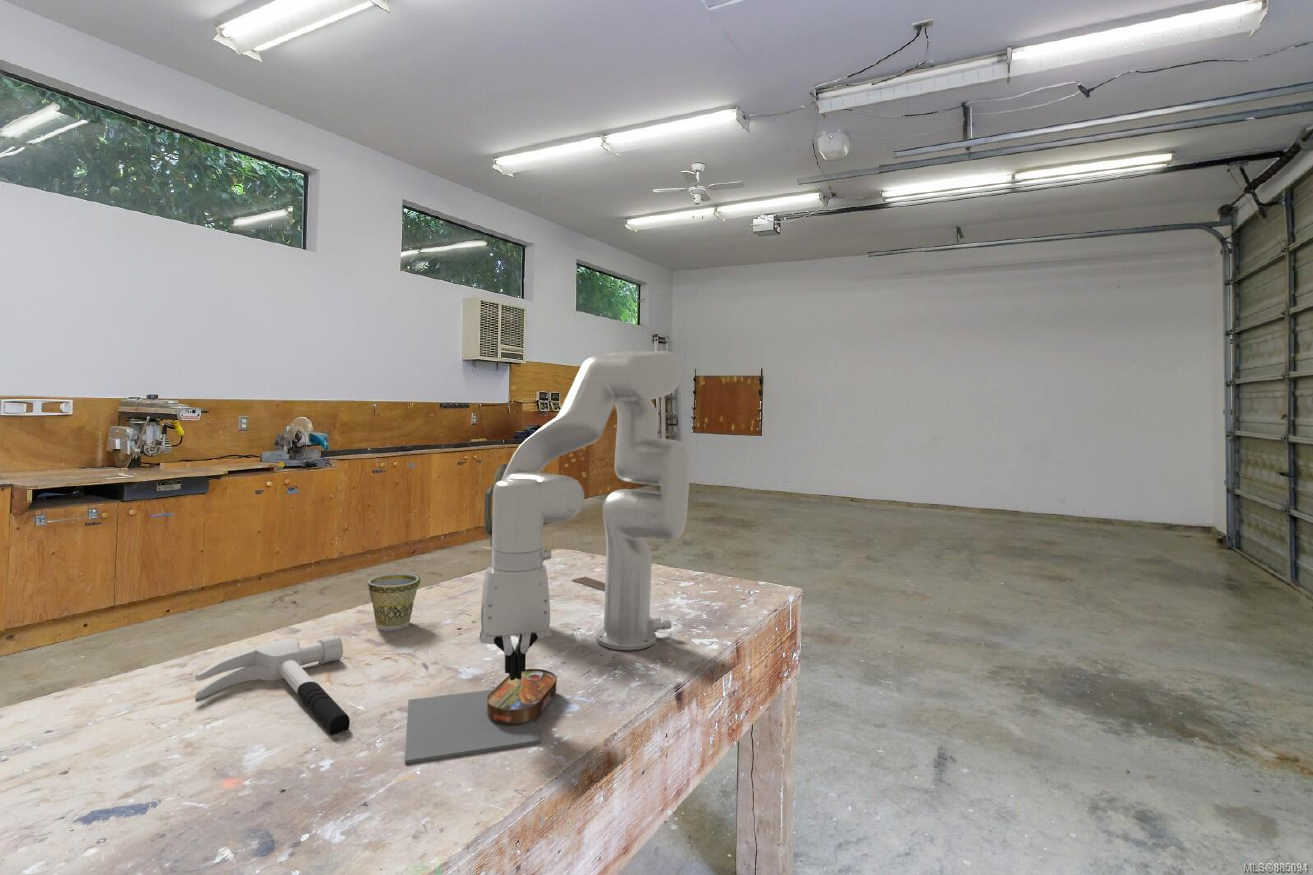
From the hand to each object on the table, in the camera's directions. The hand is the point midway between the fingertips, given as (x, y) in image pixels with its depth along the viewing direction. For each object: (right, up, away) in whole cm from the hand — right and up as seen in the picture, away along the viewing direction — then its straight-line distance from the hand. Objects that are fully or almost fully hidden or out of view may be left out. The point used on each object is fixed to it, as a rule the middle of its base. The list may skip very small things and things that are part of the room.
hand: (514, 676), depth 96 cm
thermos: (-11, -4, +43) cm, 44 cm away
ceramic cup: (-34, -4, +38) cm, 52 cm away
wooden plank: (+6, -4, +73) cm, 73 cm away
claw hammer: (-36, -6, +3) cm, 36 cm away
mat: (-6, -6, -2) cm, 9 cm away
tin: (+5, -5, +2) cm, 7 cm away
